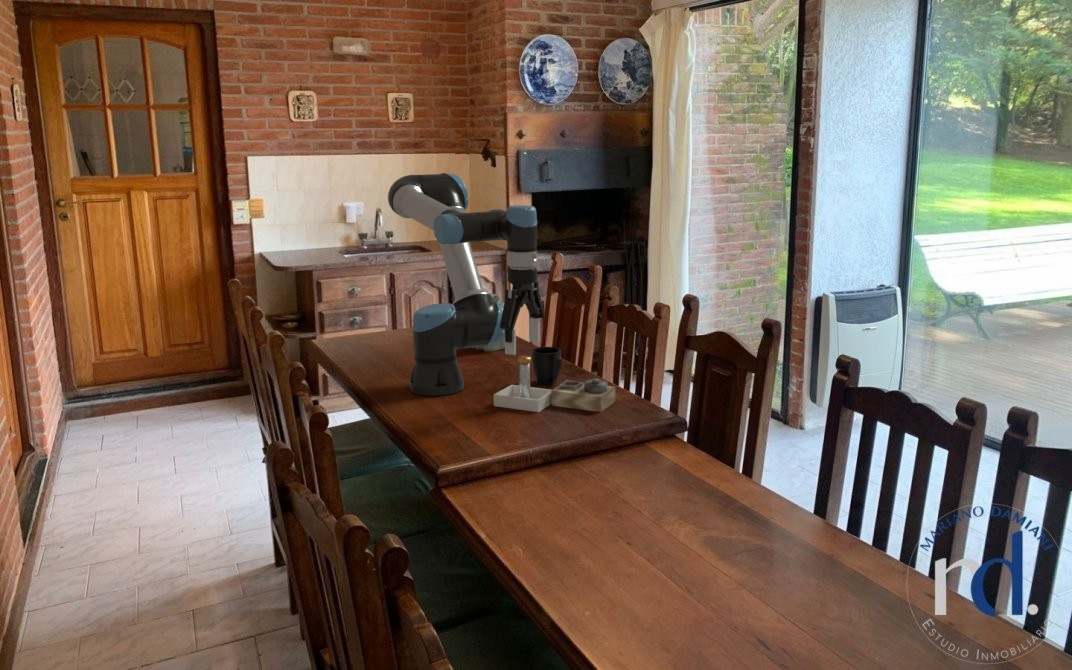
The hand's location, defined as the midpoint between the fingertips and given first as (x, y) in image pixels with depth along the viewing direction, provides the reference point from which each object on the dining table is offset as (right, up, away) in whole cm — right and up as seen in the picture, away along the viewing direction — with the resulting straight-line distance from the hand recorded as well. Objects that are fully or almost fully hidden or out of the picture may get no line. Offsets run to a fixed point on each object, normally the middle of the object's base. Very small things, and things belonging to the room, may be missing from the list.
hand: (522, 348), depth 223 cm
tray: (0, -15, +3) cm, 15 cm away
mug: (+7, -11, +21) cm, 25 cm away
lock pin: (+1, -14, +3) cm, 14 cm away
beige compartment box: (+16, -14, +3) cm, 22 cm away
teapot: (-14, -1, +66) cm, 67 cm away
